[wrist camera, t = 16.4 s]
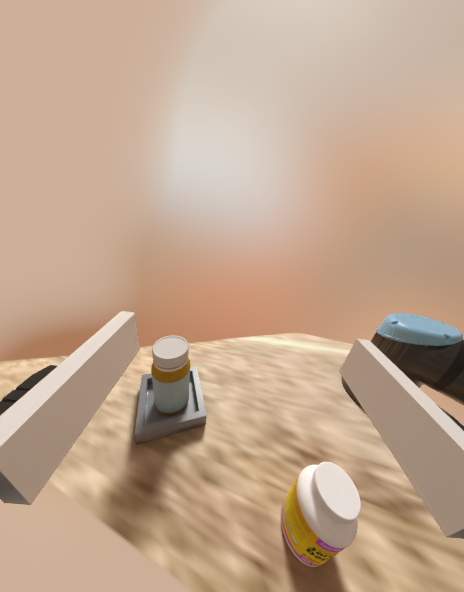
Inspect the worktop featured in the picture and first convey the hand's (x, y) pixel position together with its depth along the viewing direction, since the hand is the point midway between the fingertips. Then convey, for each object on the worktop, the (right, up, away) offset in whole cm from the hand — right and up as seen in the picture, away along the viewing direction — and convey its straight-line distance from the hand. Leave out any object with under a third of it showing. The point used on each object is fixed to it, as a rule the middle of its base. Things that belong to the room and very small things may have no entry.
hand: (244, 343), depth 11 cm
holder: (-14, -20, +28) cm, 37 cm away
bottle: (-14, -20, +28) cm, 37 cm away
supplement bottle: (+9, -30, +15) cm, 35 cm away
